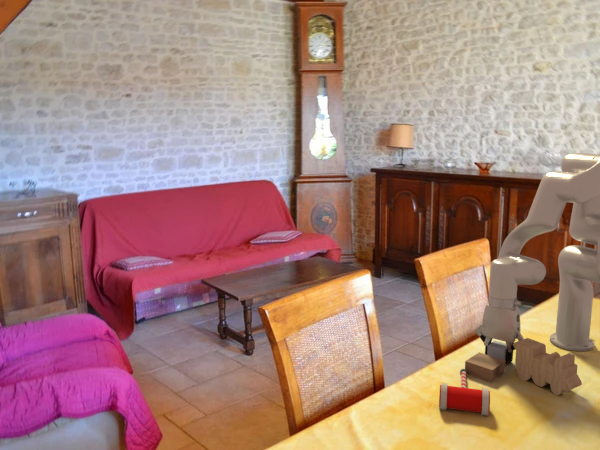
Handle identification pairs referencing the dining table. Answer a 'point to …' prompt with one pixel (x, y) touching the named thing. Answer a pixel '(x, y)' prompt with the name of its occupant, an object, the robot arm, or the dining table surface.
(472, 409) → the toy hammer
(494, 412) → the dining table surface
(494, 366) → the walnut block
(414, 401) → the dining table surface
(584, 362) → the dining table surface
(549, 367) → the toy train
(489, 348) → the slate brick
